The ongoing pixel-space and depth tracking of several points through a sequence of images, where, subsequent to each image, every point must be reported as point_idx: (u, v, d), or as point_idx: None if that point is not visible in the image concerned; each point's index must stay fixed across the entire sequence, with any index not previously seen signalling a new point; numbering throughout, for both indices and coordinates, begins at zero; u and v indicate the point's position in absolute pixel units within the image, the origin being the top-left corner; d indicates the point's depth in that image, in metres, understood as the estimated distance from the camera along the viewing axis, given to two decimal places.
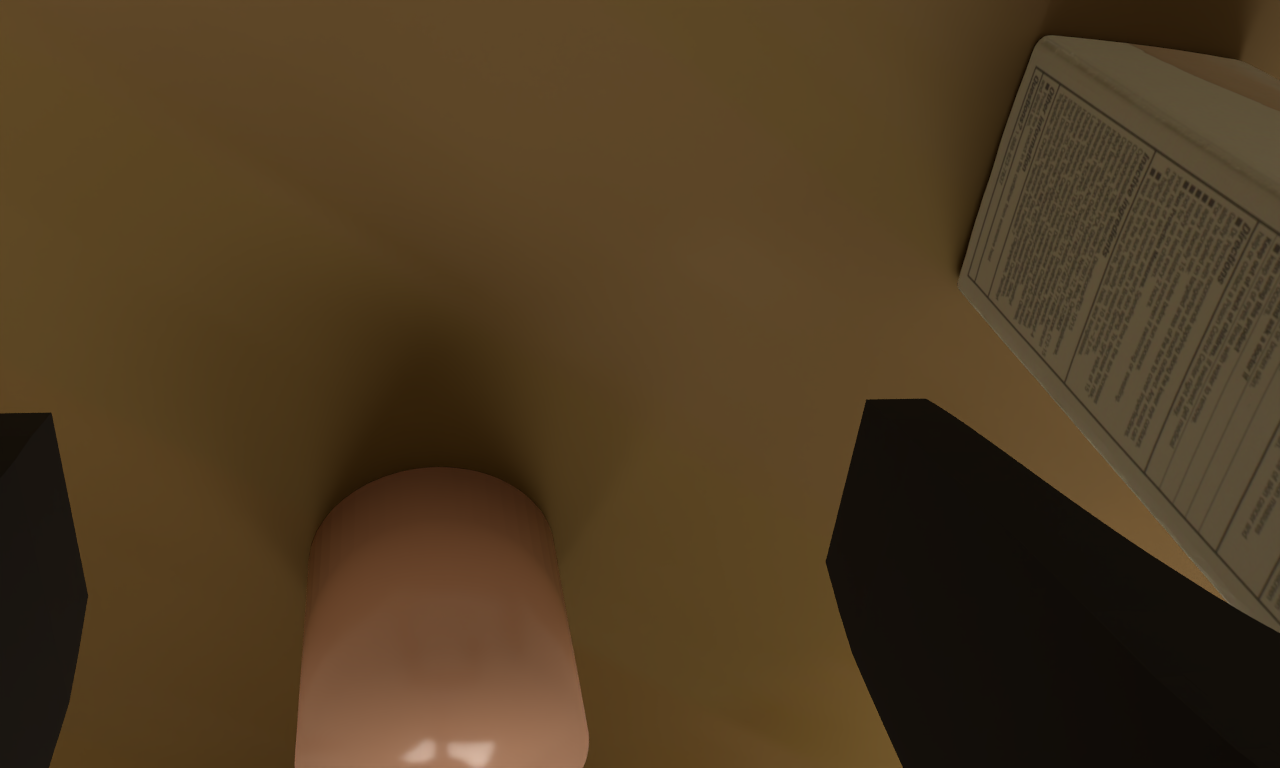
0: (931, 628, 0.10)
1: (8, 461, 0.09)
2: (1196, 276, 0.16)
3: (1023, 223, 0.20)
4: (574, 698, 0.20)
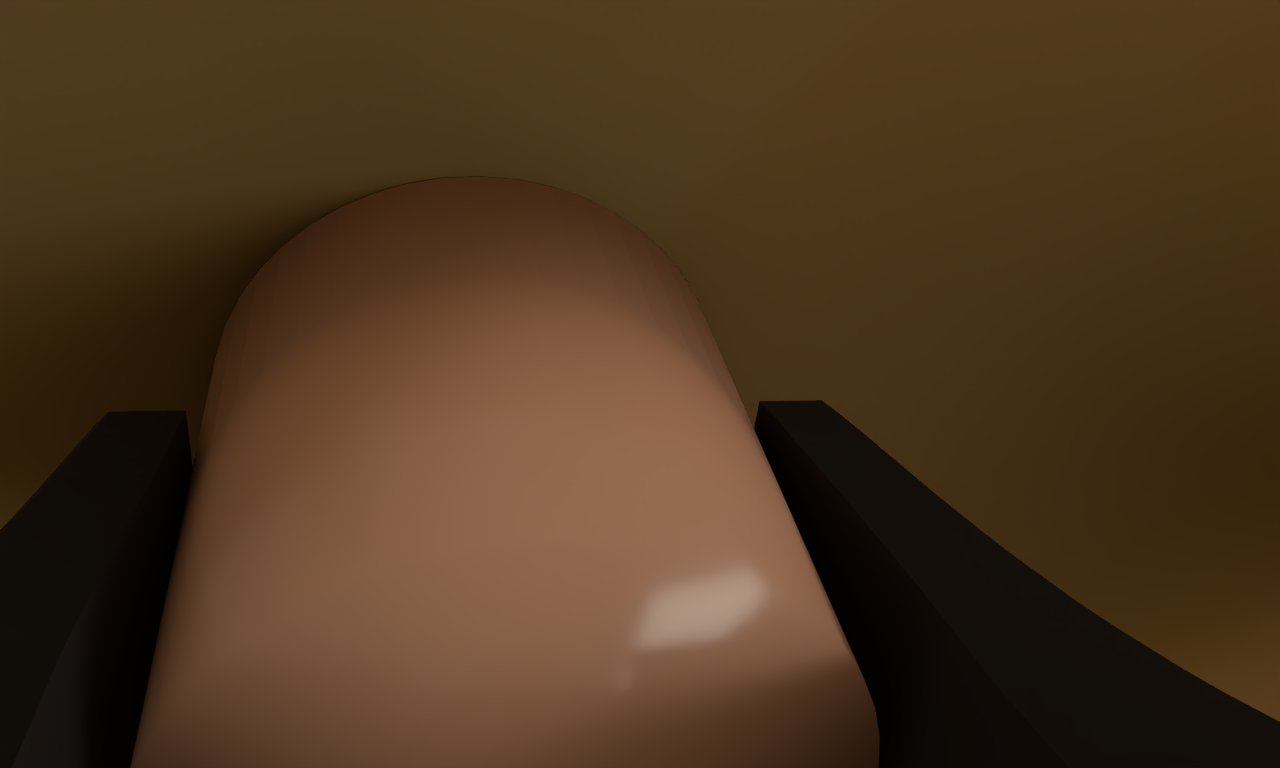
0: None
1: (157, 458, 0.09)
2: None
3: None
4: (316, 595, 0.07)
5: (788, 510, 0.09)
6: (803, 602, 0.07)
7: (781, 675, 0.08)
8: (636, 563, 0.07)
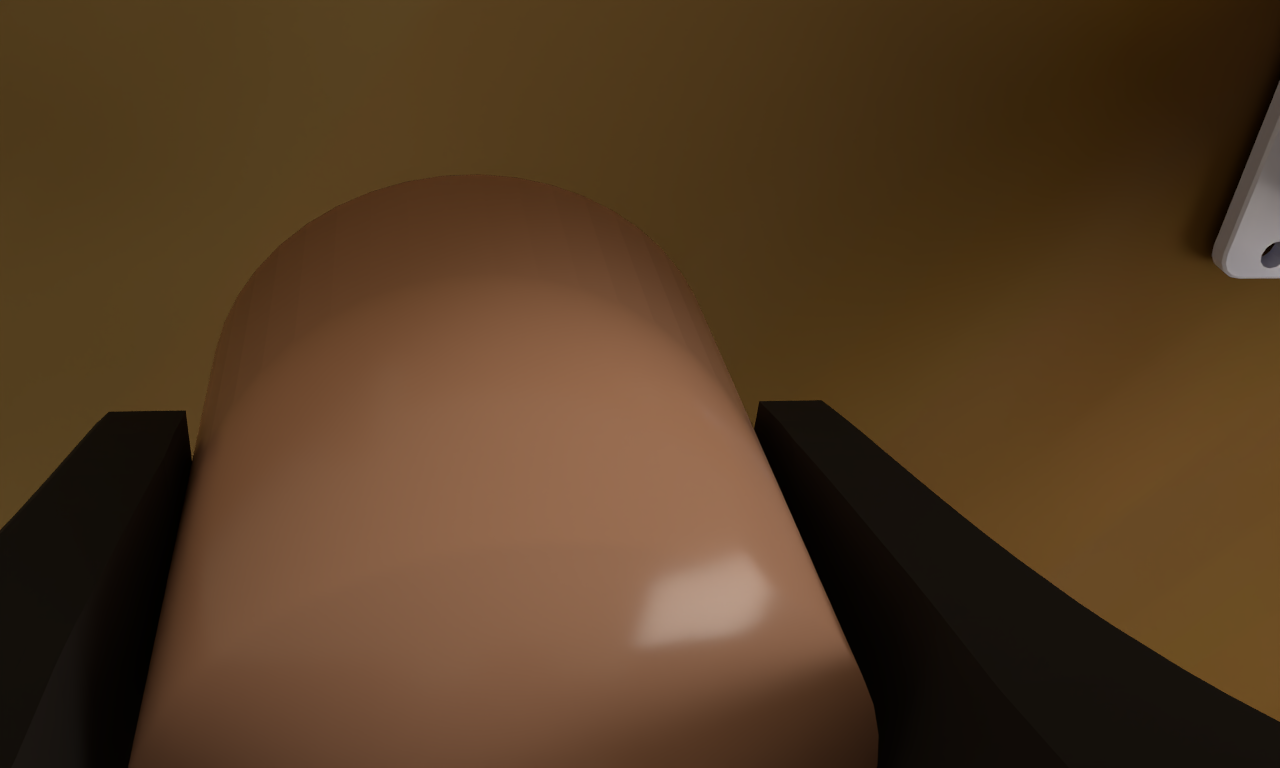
0: None
1: (158, 458, 0.09)
2: None
3: None
4: (315, 592, 0.07)
5: (787, 508, 0.09)
6: (802, 600, 0.07)
7: (779, 674, 0.08)
8: (634, 562, 0.07)
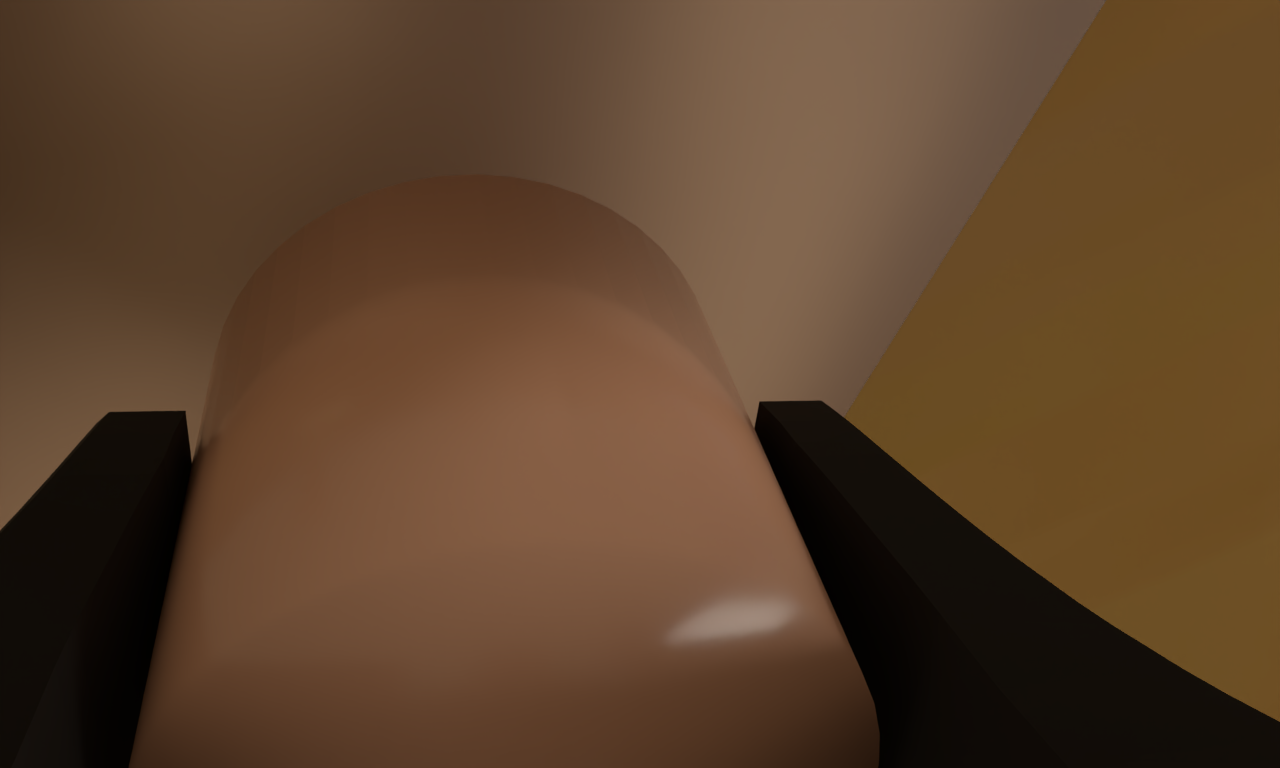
0: None
1: (157, 457, 0.09)
2: None
3: None
4: (312, 595, 0.07)
5: (787, 506, 0.09)
6: (802, 598, 0.07)
7: (778, 673, 0.08)
8: (633, 560, 0.07)
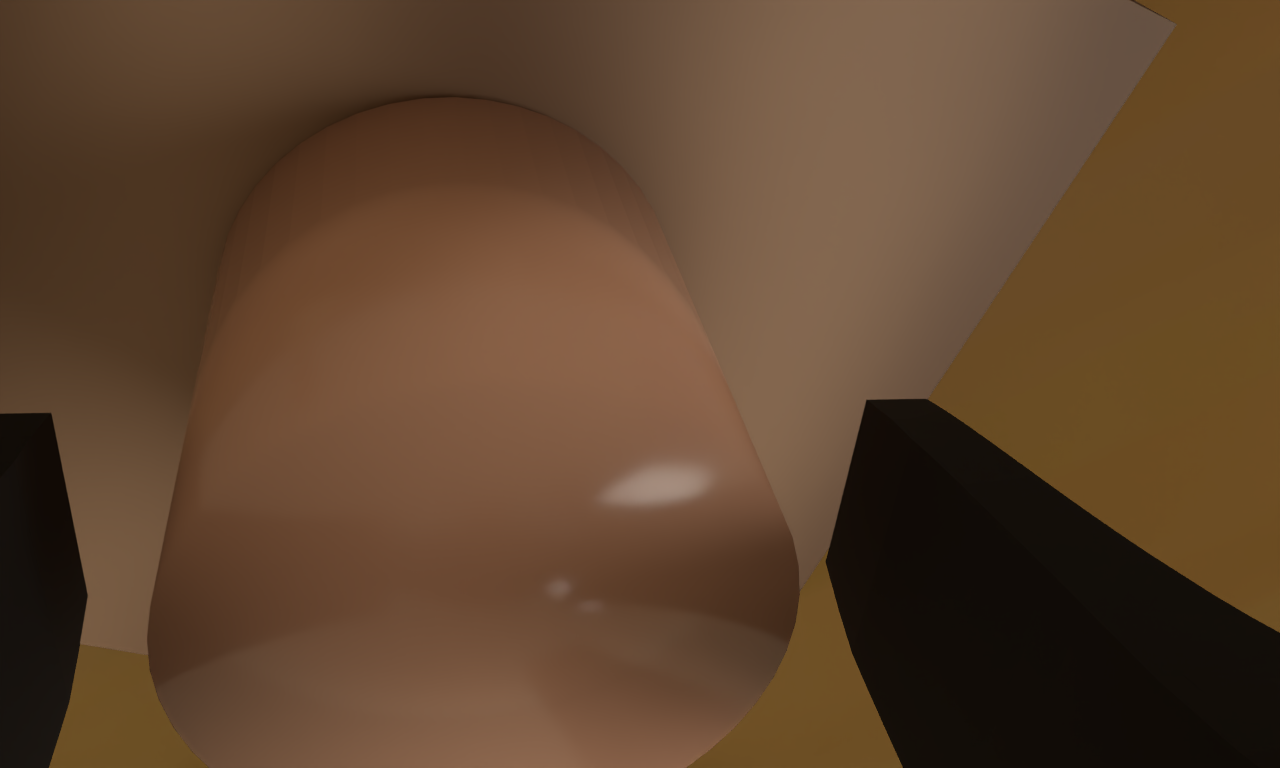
0: (931, 629, 0.10)
1: (8, 461, 0.09)
2: None
3: None
4: (308, 425, 0.08)
5: (724, 380, 0.10)
6: (726, 440, 0.09)
7: (707, 507, 0.09)
8: (578, 400, 0.08)
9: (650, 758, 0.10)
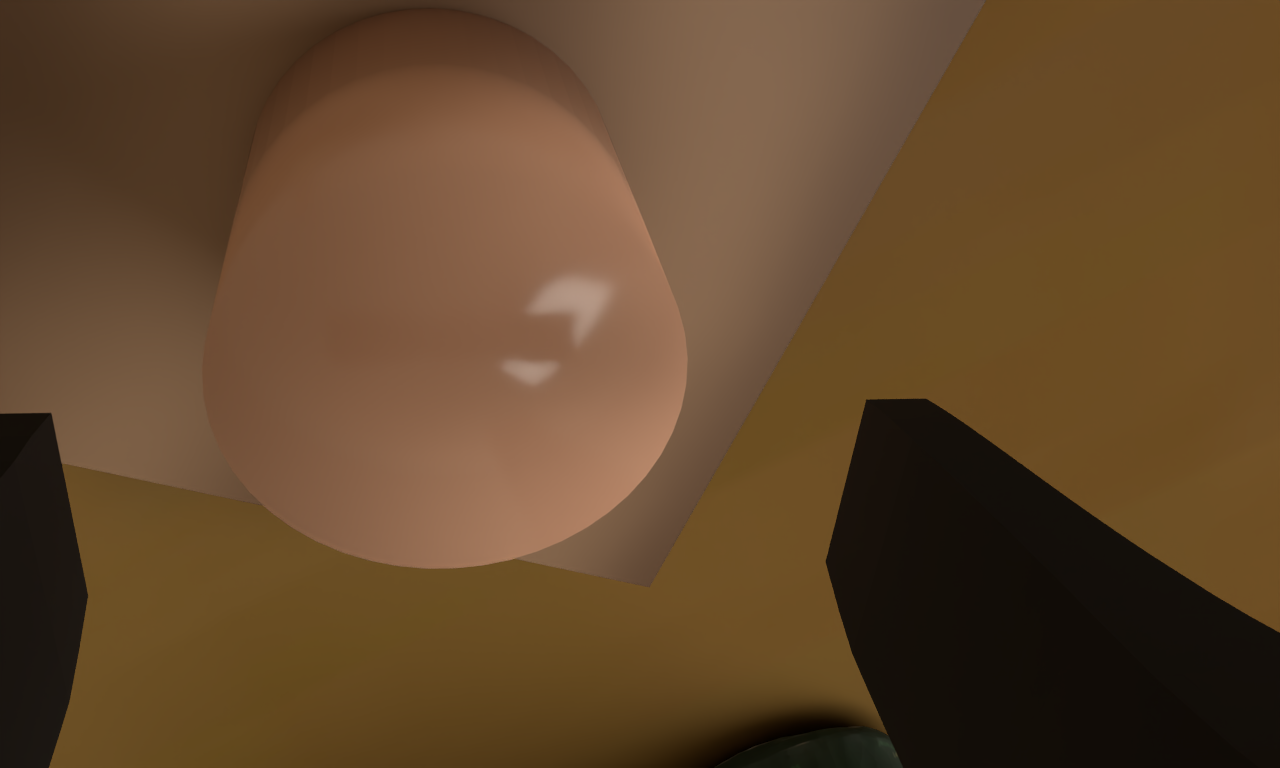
0: (932, 628, 0.10)
1: (8, 461, 0.09)
2: None
3: None
4: (320, 198, 0.11)
5: (636, 208, 0.13)
6: (623, 226, 0.12)
7: (613, 278, 0.12)
8: (511, 186, 0.11)
9: (581, 501, 0.14)
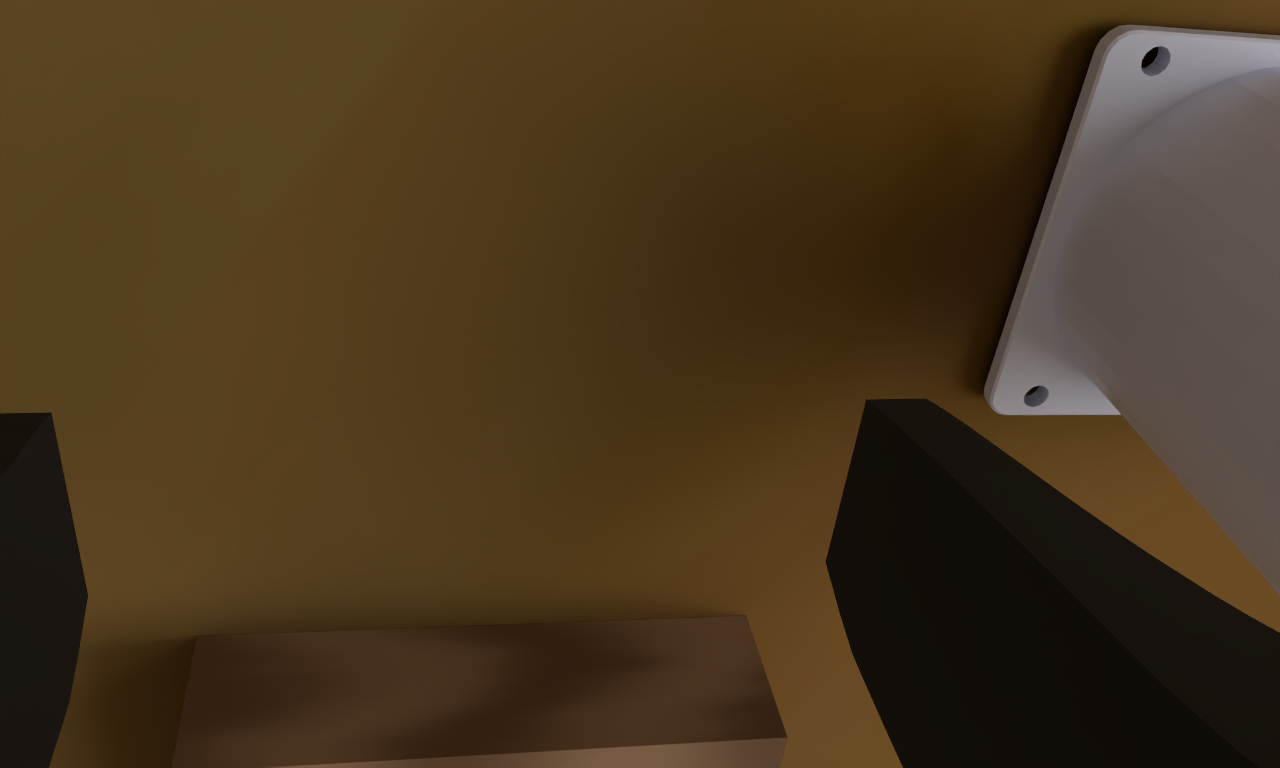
0: (930, 629, 0.10)
1: (8, 461, 0.09)
2: None
3: None
4: None
5: None
6: None
7: None
8: None
9: None
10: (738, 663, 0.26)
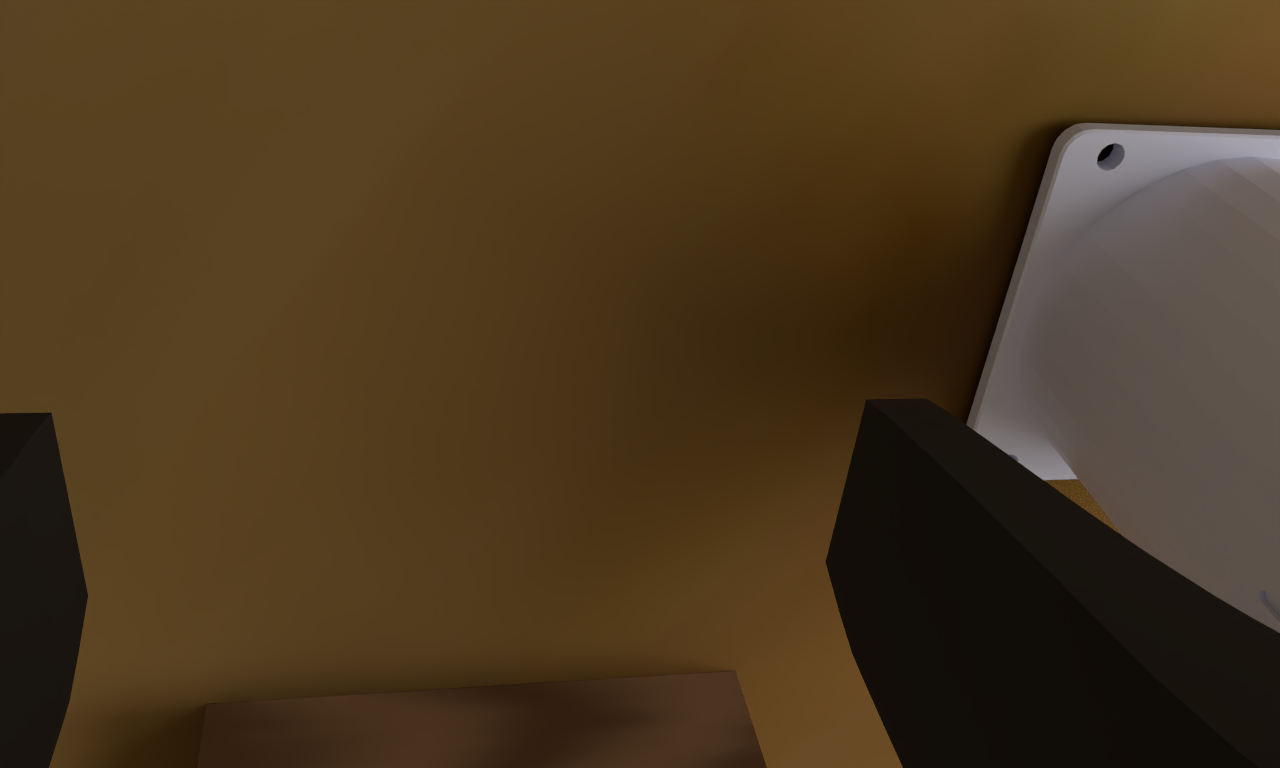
0: (931, 629, 0.10)
1: (8, 461, 0.09)
2: None
3: None
4: None
5: None
6: None
7: None
8: None
9: None
10: (727, 718, 0.27)
